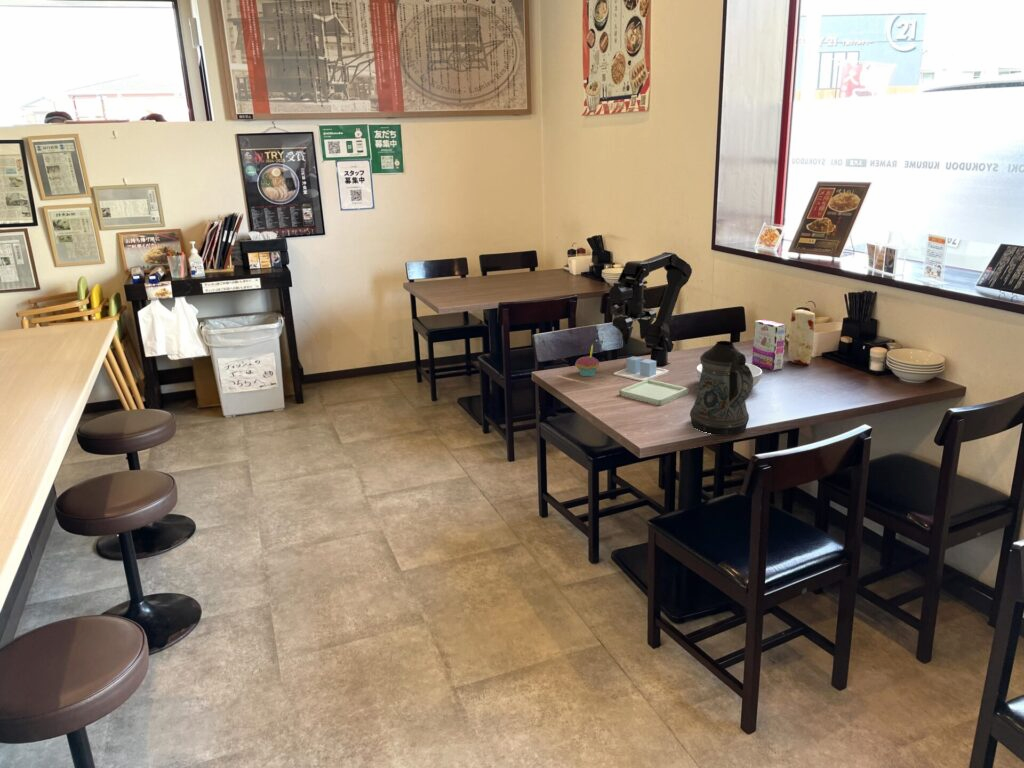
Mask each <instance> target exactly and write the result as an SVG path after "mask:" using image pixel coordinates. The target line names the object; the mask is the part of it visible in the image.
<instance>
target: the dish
mask: <svg viewBox="0 0 1024 768" xmlns="http://www.w3.org/2000/svg"><path fill="white" fill-rule="evenodd" d="M669 372H670V370H669V369H664V368H662V367H656V375H653V376H651V377H646V376H642V375H640V372H639V373H637V374H633V373H629V372H626V368H623V369H621V370H618V371H615V372H613V373H612V375H613V376H616V377H621V378H626V379H630V380H634V381H638V382H641V381H644V380H647V379H651V380H653V379H655V378H657V377H660V376H662V375H665V374H668V373H669Z"/></svg>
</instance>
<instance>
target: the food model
mask: <svg viewBox="0 0 1024 768" xmlns="http://www.w3.org/2000/svg"><path fill="white" fill-rule="evenodd" d="M790 319H791V320H790V326H789V336H788V347H787V348H788V351H787V352H788V353H787V354H788V355H787V357H788V360H789V361H790V362H791V363H793V364H794V363H795V364H797V365H802V366H805V365H809V364H810V362H811V359H812V355H813V349H814V344H815V331H816V329H815V328H816V314H815V312H812V311H809V310H805V309H802V308H801V309H794V310H792V312H791V318H790Z"/></svg>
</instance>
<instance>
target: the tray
mask: <svg viewBox="0 0 1024 768" xmlns="http://www.w3.org/2000/svg"><path fill="white" fill-rule="evenodd" d="M618 391H619V393H618V394H619V395H618V396H620V395H621V396H620V397H624V396H625V398H628V397H629V399H632V400H635V399H636V400H637V401H639V400H640V402H643V403H644V402H645V403H647V402H648V403H647V404H652V405H655V406H659V407H660V406H663V405H666V404H667V403H670V402H671V401H674V400H676V399H678V398H681V397H683V396H686V395H687V394H689V387H684V386H681V385H678V384H677V385H676V384H672V383H668V382H667V383H666V382H662V381H659V380H654V379H647V380H644V381H638V382H637V383H634V384H631V385H629V386H626V387H624V388H622V389H619V390H618ZM636 400H635V401H636Z"/></svg>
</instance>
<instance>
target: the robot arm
mask: <svg viewBox="0 0 1024 768" xmlns="http://www.w3.org/2000/svg"><path fill="white" fill-rule="evenodd" d="M661 268H663V269H664V270H665V271H666V275H665V276H666V281H667V286H666V289H665V292H664V294H663V296H662V297H663V298H662V301H661V303H660V306H659V309H658V312H657V311H656V310H655V309H652V308H645V307H644V305H646V302H647V301H646V300H645V299H644V285H647V284H648V281H647V280H646V279H645V278H647V277H649V275H650V273H651V272H654V271H656V270H659V269H661ZM692 273H693V269H692V266H691V265H690V263H688V262H687V261H685V260H684V259H682V258H680V257H679V256H678V255H677V254H676V253H674V252H668V251H666V252H662V253H661V254H658V255H655V256H653V257H649V258H647V259H645V260H632V261H627V262H625V265H624V266H623V268H622V271H621V273H620V276H619V277H618V280H617V282H613V286H612V287H610V290H609V292H608V298H610V299H609V300H610V301H611V302H612V303H613V304H614V305H611V306H610V314H611V315H612V316H614V317H613V319H612V322H611V323H612V326H613V327H615V328H616V329H618V330H619V331H620V333H621V336H622V339H623V342H624V345H629V343H630V342H631V341H630V340H631V336H632V333H633V332H632V331H633V329H634V326H633V323H634V322H635V321H637V322H638V324H639V336H640V339H641V340H644V342H645V347H646V349H650V360H654V361H656V367H657V368H663V367H666V366H668V365H671V364H672V363H671V362H669V358H668V357H669V355H668V354H669V352H671V351H673V349H674V342H672V340H671V338H670V335H671V331H670V327H669V324H670V321H671V318H672V315H673V312H674V309H675V307H676V303H677V301H678V298H679V296H680V292H681V290H682V288H683V287H684V286H685V285H686V284H687V283H688V282H689V280H690V277H691V275H692ZM620 303H622V304H623V305H620V306H619V305H618V304H620Z"/></svg>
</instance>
